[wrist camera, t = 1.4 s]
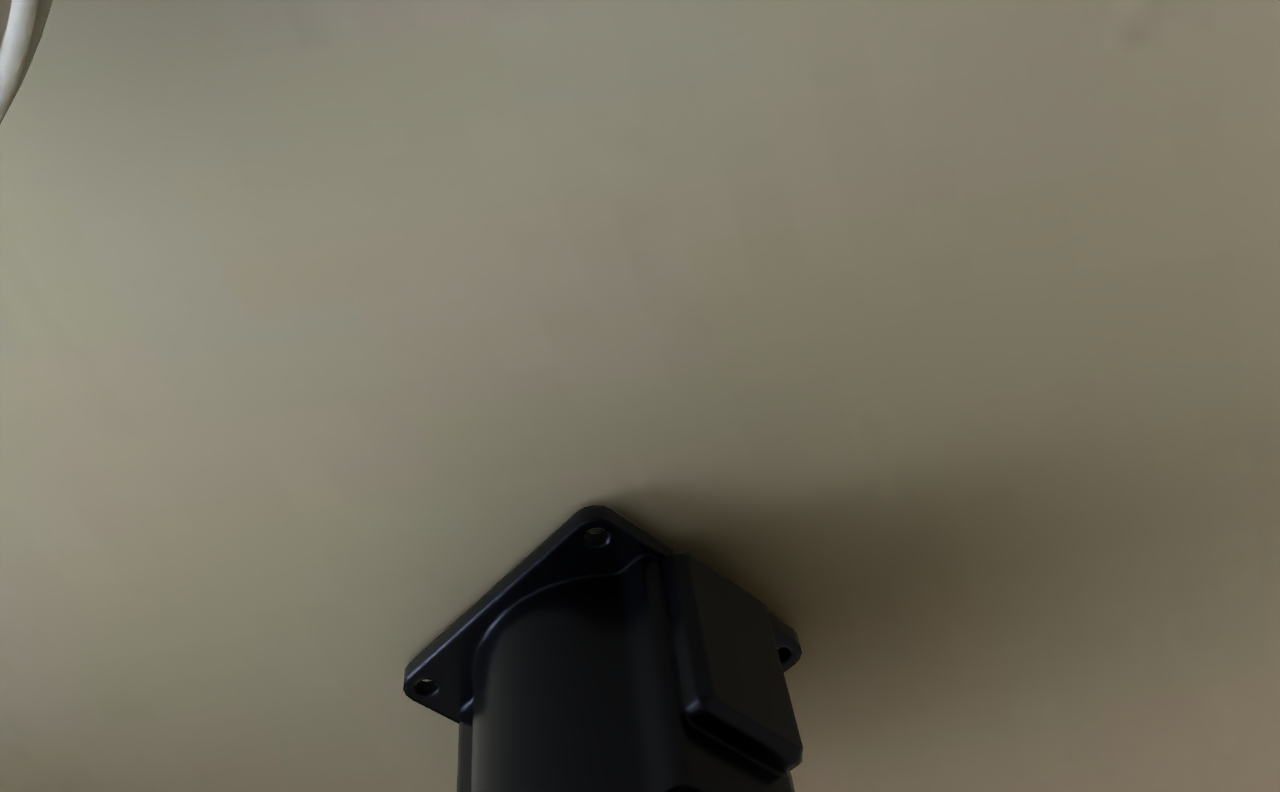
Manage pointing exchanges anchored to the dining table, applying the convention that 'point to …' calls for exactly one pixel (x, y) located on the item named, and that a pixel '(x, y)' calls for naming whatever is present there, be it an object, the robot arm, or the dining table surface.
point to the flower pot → (18, 43)
